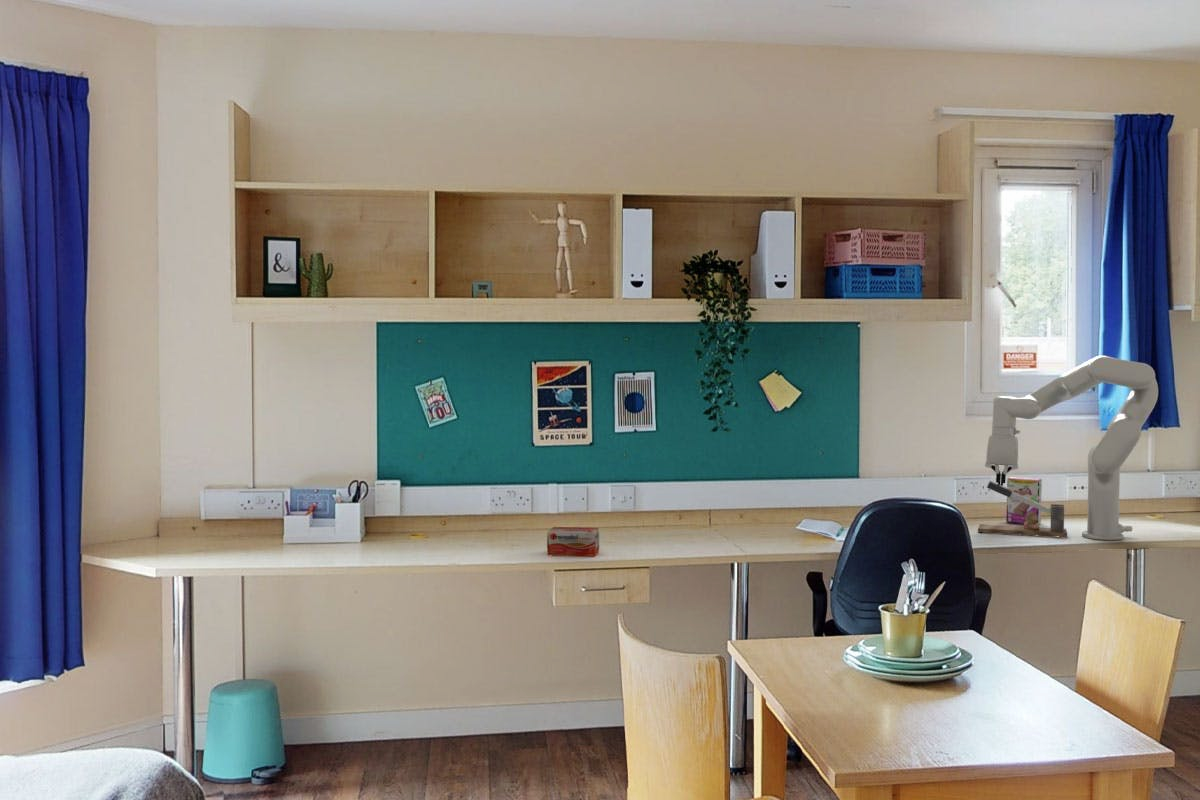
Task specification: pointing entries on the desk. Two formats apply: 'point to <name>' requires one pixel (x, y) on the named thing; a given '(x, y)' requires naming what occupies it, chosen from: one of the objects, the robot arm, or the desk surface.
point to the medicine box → (573, 541)
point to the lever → (1017, 496)
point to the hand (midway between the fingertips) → (1000, 485)
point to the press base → (1019, 530)
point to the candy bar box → (1026, 489)
